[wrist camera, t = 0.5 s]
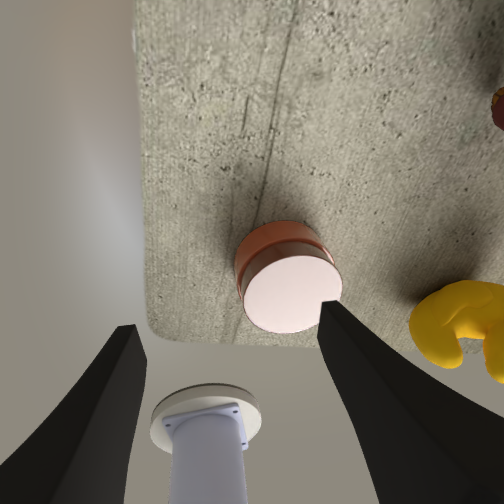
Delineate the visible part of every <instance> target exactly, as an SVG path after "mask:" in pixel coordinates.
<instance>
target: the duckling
mask: <svg viewBox="0 0 504 504" xmlns="http://www.w3.org/2000/svg"><path fill="white" fill-rule="evenodd" d="M409 330H410V334H411V336H412V339H413V341H414V342H415V344H416V346H417V347H418V349H419V350H420V352H421V353H422V354H423V355H424V357H425V358H426V359H427V360H429V361H430V362H432V363H434V364H436V365H438V366H441V367H444V368H448V369H451V368H456V367H458V366H459V365H460V364H461V363H462V360H463V353H462V349H461V347H460V344H459V341H458V339H459V338H462V337H468V338H473V339H476V338H479V339H484V340H483V352H484V356H485V360H486V361H485V364H486V368H487V371H488V373H489V374H490V375H491V377H492V378H493V379H495V380H496V381H498V382H500V383H503V384H504V286H503V285H500V284H495V283H490V282H483V281H473V280H462V281H458V282H455V283H452V284H449V285H446V286H445V287H443V288H442V289H441V290H438V291H436V292H434V293H432V294H430V295H429V296H427V297H426V298H425V299H423V300H422V301H421V302H420V303H419V304H418V305H417V306H416V307H415V308H414V309H413V311H412V313H411V316H410V319H409Z"/></svg>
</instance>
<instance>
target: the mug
mask: <svg viewBox="0 0 504 504" xmlns="http://www.w3.org/2000/svg"><path fill="white" fill-rule="evenodd" d="M491 103H492V106H491V110H492V118H493V121H494V123H495V125H496V126H498V127H499V128H500V129H502V130H503V131H504V87H502V88H500V89H499V90H498V91H497V92H496V93H495V94H494V95H493V98H492V102H491Z"/></svg>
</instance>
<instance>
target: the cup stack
mask: <svg viewBox="0 0 504 504" xmlns="http://www.w3.org/2000/svg"><path fill="white" fill-rule="evenodd" d="M234 272H235V278H236V284H237V290H238V294H239V296H240V299H241V300H242V303H243V308H244V311H245V314H246V316H247V317H248V319H249V320H250V321H251V322H252V323H253V324H254V325H255V326H257V327H258V328H260V329H262V330H265V331H268V332H271V333H279V334H287V333H295V332H299V331H303V330H306V329H308V328H311V327H313V326H315V325H317V324H318V323H319V319H320V311H321V304H322V302H323V301H332V300H337V301H338V302H339V300H340V298H341V295H342V289H343V283H342V278H341V275H340V273H339V271H338V270H337V268H336V267H335V264H334V260H333V257H332V256H331V254H330V252H329V251H328V249H327V248H326V246H325V245H324V244H323V242H322V241H321V239H320V238H319V236H318V235H317V234H316V233H315V232H314V231H313V230H312V229H311V228H310V227H308V226H306V225H304V224H302V223H299V222H295V221H284V220H283V221H275V222H270V223H267V224H264V225H262V226H260V227H258V228H257V229H255V230H253V231H252V232H251V233H250V234H248V235H247V236H246V237H245V238H244V240H243V241H242V242H241V244H240V245H239V247H238V249H237V251H236V254H235V258H234Z"/></svg>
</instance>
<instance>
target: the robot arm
mask: <svg viewBox="0 0 504 504" xmlns="http://www.w3.org/2000/svg"><path fill="white" fill-rule="evenodd" d="M317 339H318V342H319V346H320V349H321V352H322V355H323V358H324V361H325V363H326V366H327V368H328V370H329V372H330V374H331V377H332V379H333V381H334V383H335V386H336V388H337V390H338V392H339V394H340V396H341V399H342V401H343V403H344V405H345V407H346V410H347V412H348V414H349V416H350V419H351V421H352V423H353V426H354V428H355V431H356V434H357V437H358V440H359V443H360V446H361V448H362V451H363V454H364V457H365V460H366V463H367V466H368V469H369V472H370V475H371V478H372V481H373V484H374V487H375V491H376V494H377V497H378V500H379V504H504V418H503V417H501V416H499V415H497V414H495V413H493V412H491V411H489V410H488V409H486V408H484V407H482V406H480V405H478V404H477V403H475V402H473V401H471V400H469V399H468V398H466V397H464V396H462V395H461V394H459V393H457V392H456V391H454V390H452V389H451V388H449V387H447V386H446V385H444V384H442V383H441V382H439V381H438V380H436V379H435V378H433V377H431V376H430V375H428V374H427V373H426V372H424V371H423V370H421V369H420V368H418V367H417V366H415V365H413V364H412V363H411V362H410V361H408V360H407V359H405V358H404V357H403V356H401V355H400V354H399V353H398V352H396V351H395V350H394V349H392V348H391V347H390V346H389V345H387V344H386V343H385V342H384V341H382V340H381V339H380V338H379V337H378V336H376V335H375V334H374V333H373V332H372V331H371V330H369V329H368V328H367V327H366V326H365V325H364V324H363V323H361V322H360V321H359V320H358V319H357V318H356V317H355V316H354V315H353V314H352V313H350V312H349V311H348V310H347V309H346V308H345V307H344V306H343V305H342V304H340V303H339V302H338V301H337V300H332V301H323V302H322V304H321V311H320V319H319V326H318V334H317ZM146 367H147V358H146V355H145V352H144V350H143V346H142V343H141V340H140V337H139V334H138V331H137V328H136V325H135V324H133V325H124V326H118V327H117V328H116V329H115V331H114V332H113V334H112V335H111V337H110V338H109V339H108V341H107V342H106V344H105V345H104V346H103V348H102V349H101V351H100V352H99V353H98V355H97V356H96V358H95V359H94V360H93V362H92V363H91V364H90V366H89V367H88V368H87V369H86V371H85V372H84V373H83V375H82V376H81V378H80V379H79V380H78V381H77V383H76V384H75V385H74V386H73V387H72V389H71V390H70V391H69V392H68V394H67V395H66V396H65V397H64V398H63V400H62V401H61V402H60V403H59V405H58V406H57V407H56V408H55V409H54V410H53V411H52V413H51V414H50V415H49V416H48V417H47V418H46V419H45V420H44V421H43V423H42V424H41V425H40V426H39V427H38V428H37V429H36V430H35V431H34V432H33V433H32V434H31V435H30V436H29V437H28V439H27V440H26V441H25V442H24V443H23V444H22V445H21V446H20V447H19V448H18V449H17V450H16V451H15V452H14V453H13V454H12V455H11V456H10V457H9V458H8V459H6V460H5V461H4V462H3V463H2V465H0V504H123V503H124V494H125V486H126V478H127V471H128V463H129V458H130V453H131V448H132V443H133V438H134V433H135V429H136V425H137V419H138V415H139V411H140V407H141V401H142V397H143V392H144V387H145V378H146ZM162 424H163V426H164V428H165V430H166V432H167V434H168V436H169V438H170V440H171V442H172V444H173V448H172V461H171V462H172V463H171V474H170V488H169V501H168V504H248V499H247V490H246V480H245V471H244V462H243V452H242V450H246V449H247V448H248V441H247V437H246V433H245V429H244V424H243V420H242V416H241V412H240V407H239V404H237V403H232V404H227V405H222V406H217V407H212V408H207V409H202V410H197V411H192V412H187V413H182V414H177V415H172V416H167V417H164V418H163V419H162Z"/></svg>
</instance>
